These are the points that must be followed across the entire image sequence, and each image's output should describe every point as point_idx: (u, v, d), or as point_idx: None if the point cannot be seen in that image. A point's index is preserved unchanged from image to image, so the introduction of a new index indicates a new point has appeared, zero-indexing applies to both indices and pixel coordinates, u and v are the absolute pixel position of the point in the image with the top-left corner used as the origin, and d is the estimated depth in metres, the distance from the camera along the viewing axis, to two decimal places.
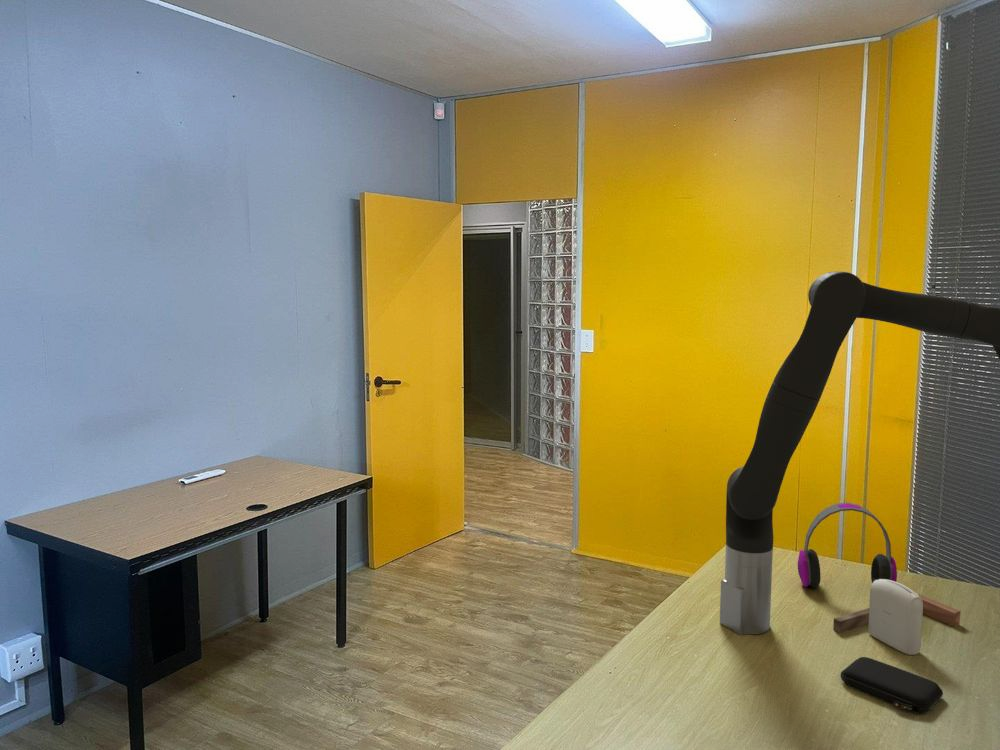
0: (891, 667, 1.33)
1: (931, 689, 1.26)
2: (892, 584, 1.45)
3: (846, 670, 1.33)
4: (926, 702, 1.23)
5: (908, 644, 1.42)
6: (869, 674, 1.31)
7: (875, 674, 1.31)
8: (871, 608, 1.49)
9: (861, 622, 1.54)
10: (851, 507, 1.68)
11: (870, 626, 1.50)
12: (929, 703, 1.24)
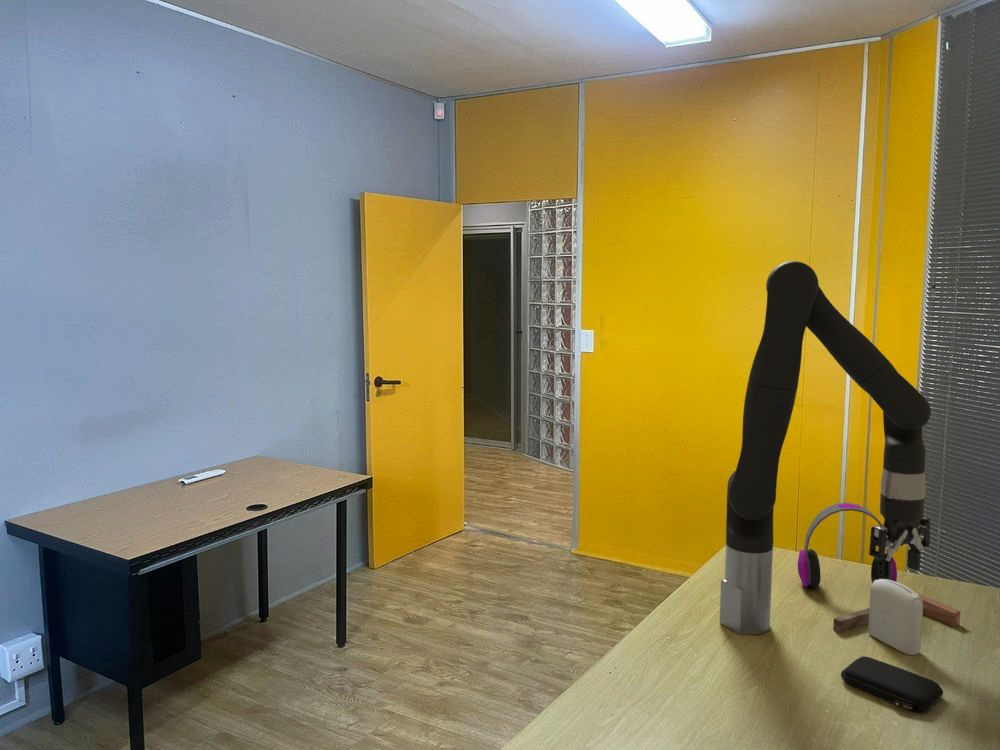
0: (891, 666, 1.33)
1: (932, 688, 1.26)
2: (892, 584, 1.45)
3: (846, 669, 1.33)
4: (926, 701, 1.24)
5: (908, 644, 1.42)
6: (870, 673, 1.31)
7: (876, 673, 1.31)
8: (871, 608, 1.49)
9: (861, 622, 1.54)
10: (851, 507, 1.68)
11: (870, 626, 1.50)
12: (929, 702, 1.24)
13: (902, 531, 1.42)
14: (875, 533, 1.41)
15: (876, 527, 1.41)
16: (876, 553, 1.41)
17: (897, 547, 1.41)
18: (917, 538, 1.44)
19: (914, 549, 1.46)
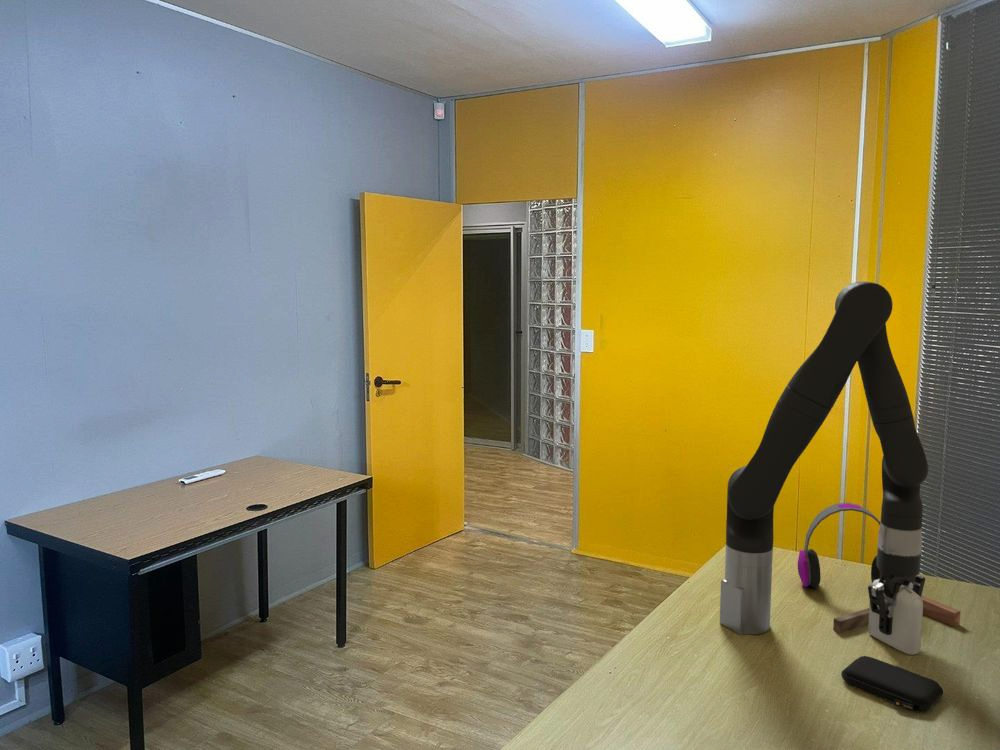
0: (892, 666, 1.33)
1: (932, 688, 1.27)
2: None
3: (847, 669, 1.33)
4: (927, 701, 1.24)
5: (908, 644, 1.42)
6: (870, 673, 1.31)
7: (876, 673, 1.31)
8: None
9: (861, 622, 1.54)
10: (851, 507, 1.68)
11: (870, 626, 1.50)
12: (930, 701, 1.24)
13: (898, 587, 1.43)
14: (872, 593, 1.43)
15: (872, 587, 1.43)
16: (878, 611, 1.44)
17: None
18: None
19: None
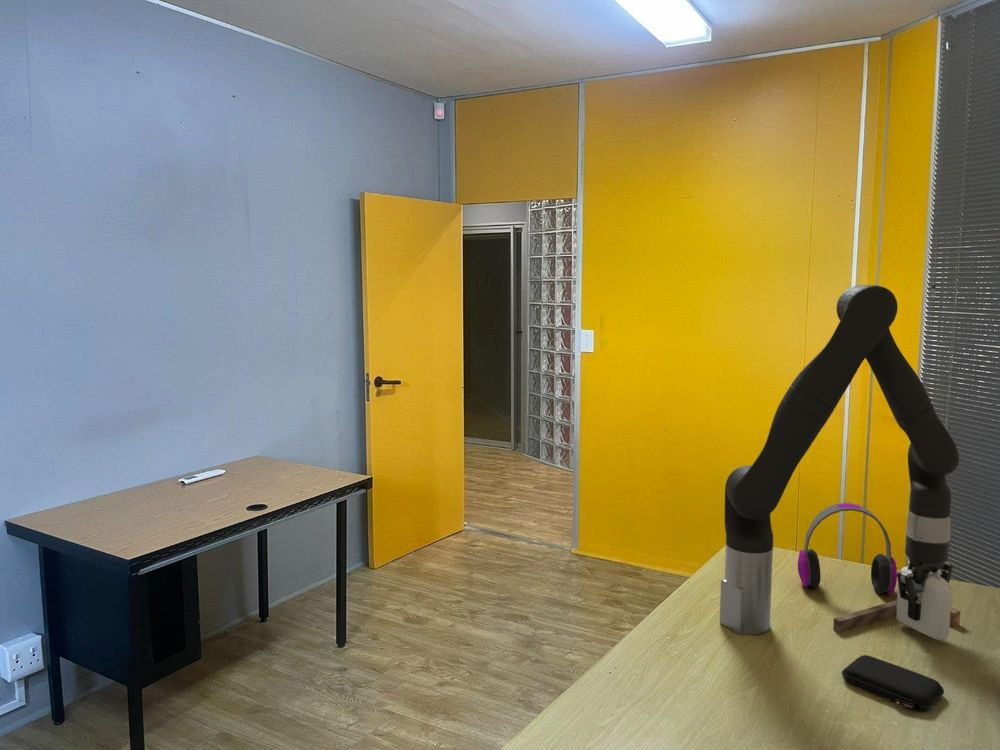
0: (892, 665, 1.34)
1: (932, 687, 1.27)
2: None
3: (847, 668, 1.33)
4: (927, 700, 1.24)
5: (936, 629, 1.45)
6: (871, 672, 1.32)
7: (877, 672, 1.32)
8: (899, 595, 1.52)
9: (861, 622, 1.54)
10: (851, 507, 1.68)
11: (898, 612, 1.53)
12: (930, 701, 1.24)
13: (927, 573, 1.46)
14: (902, 580, 1.46)
15: (901, 574, 1.46)
16: (907, 597, 1.47)
17: None
18: None
19: None
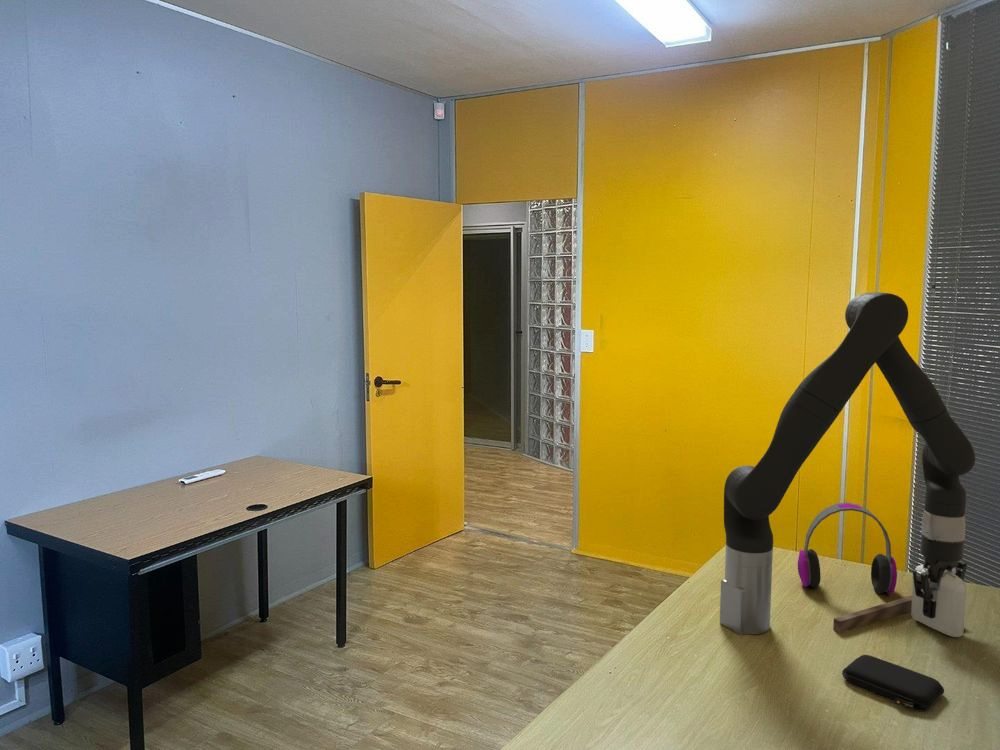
0: (892, 665, 1.34)
1: (933, 687, 1.27)
2: None
3: (848, 668, 1.33)
4: (927, 699, 1.24)
5: (952, 626, 1.47)
6: (871, 671, 1.32)
7: (877, 671, 1.32)
8: (914, 593, 1.55)
9: (861, 622, 1.54)
10: (851, 507, 1.68)
11: (913, 610, 1.55)
12: (930, 700, 1.25)
13: (942, 572, 1.49)
14: (917, 578, 1.48)
15: (917, 572, 1.48)
16: (922, 595, 1.49)
17: None
18: None
19: None
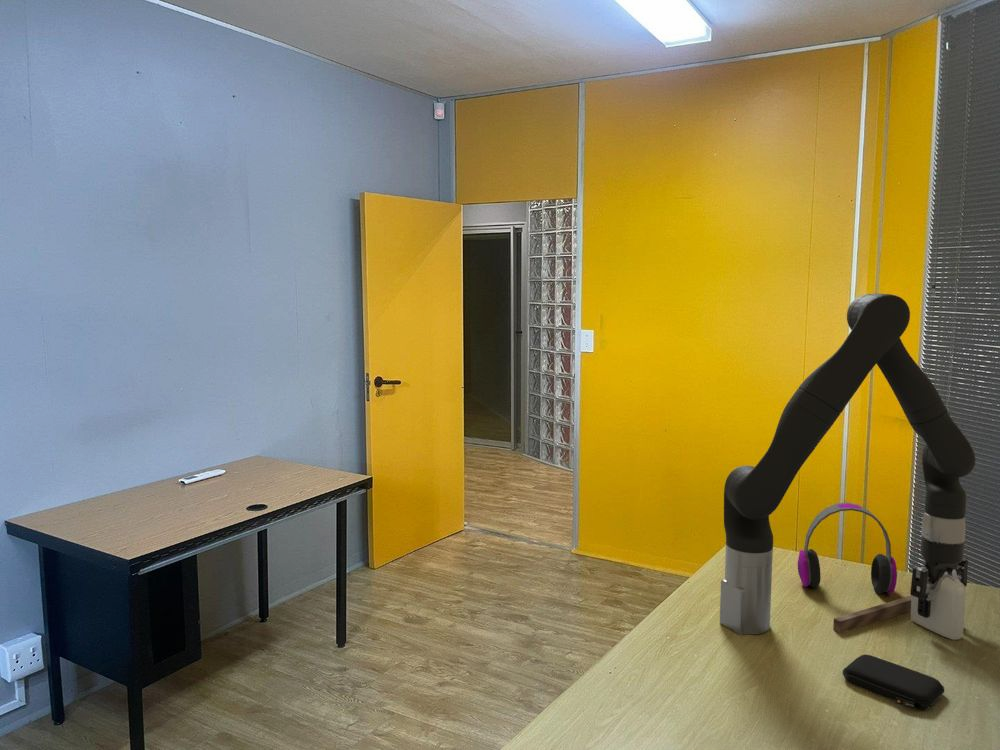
0: (893, 664, 1.34)
1: (933, 686, 1.27)
2: None
3: (848, 667, 1.34)
4: (928, 699, 1.24)
5: (951, 629, 1.47)
6: (871, 671, 1.32)
7: (877, 671, 1.32)
8: None
9: (861, 622, 1.54)
10: (851, 507, 1.68)
11: (912, 613, 1.55)
12: (931, 699, 1.25)
13: (942, 572, 1.49)
14: (917, 574, 1.48)
15: (918, 568, 1.48)
16: (917, 593, 1.48)
17: (937, 588, 1.48)
18: None
19: None
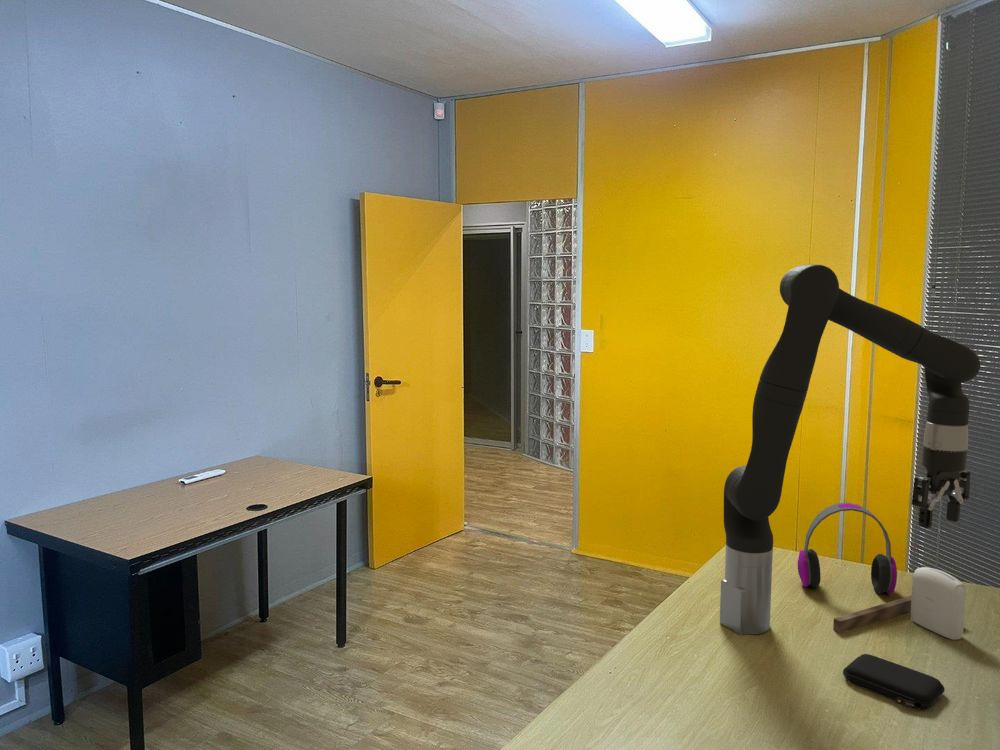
0: (893, 664, 1.34)
1: (933, 685, 1.27)
2: (935, 572, 1.51)
3: (848, 667, 1.34)
4: (928, 698, 1.25)
5: (951, 629, 1.47)
6: (872, 671, 1.32)
7: (878, 670, 1.32)
8: (913, 595, 1.55)
9: (861, 622, 1.54)
10: (851, 507, 1.68)
11: (912, 613, 1.55)
12: (931, 699, 1.25)
13: (944, 482, 1.46)
14: (918, 483, 1.46)
15: (919, 477, 1.46)
16: (919, 502, 1.46)
17: (939, 497, 1.46)
18: (958, 490, 1.48)
19: (954, 501, 1.51)
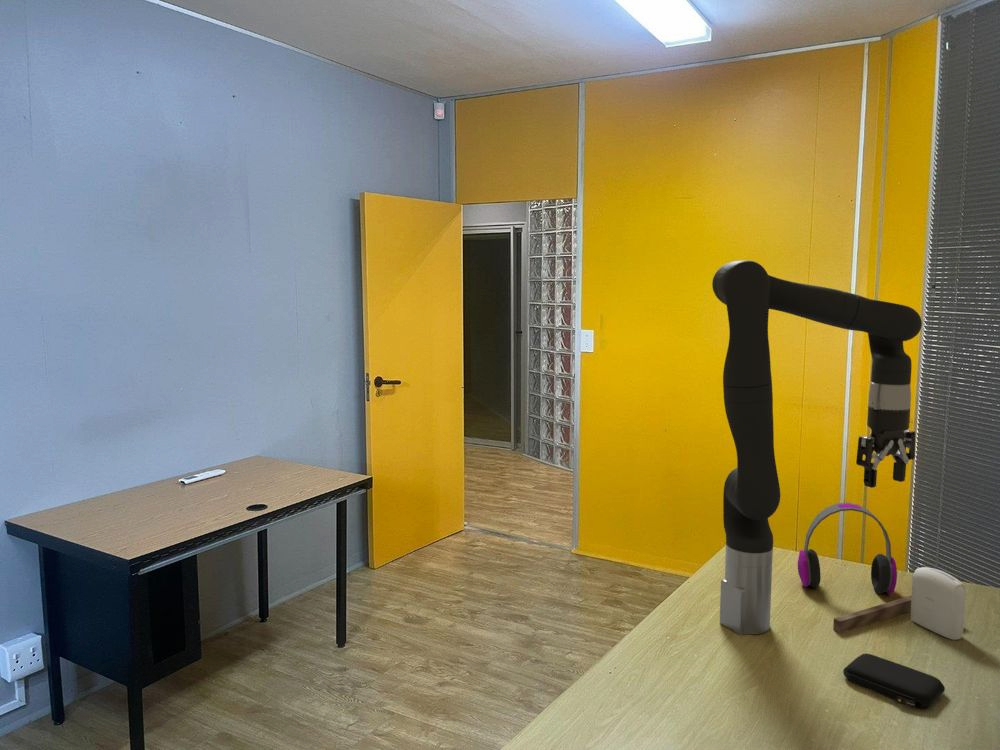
0: (893, 663, 1.34)
1: (933, 685, 1.28)
2: (935, 572, 1.51)
3: (849, 667, 1.34)
4: (929, 697, 1.25)
5: (951, 629, 1.47)
6: (872, 670, 1.32)
7: (878, 670, 1.32)
8: (913, 595, 1.55)
9: (861, 622, 1.54)
10: (851, 507, 1.68)
11: (912, 613, 1.55)
12: (931, 698, 1.25)
13: (888, 441, 1.47)
14: (862, 442, 1.47)
15: (863, 437, 1.47)
16: (863, 462, 1.47)
17: (883, 456, 1.47)
18: (902, 449, 1.49)
19: (900, 461, 1.52)
